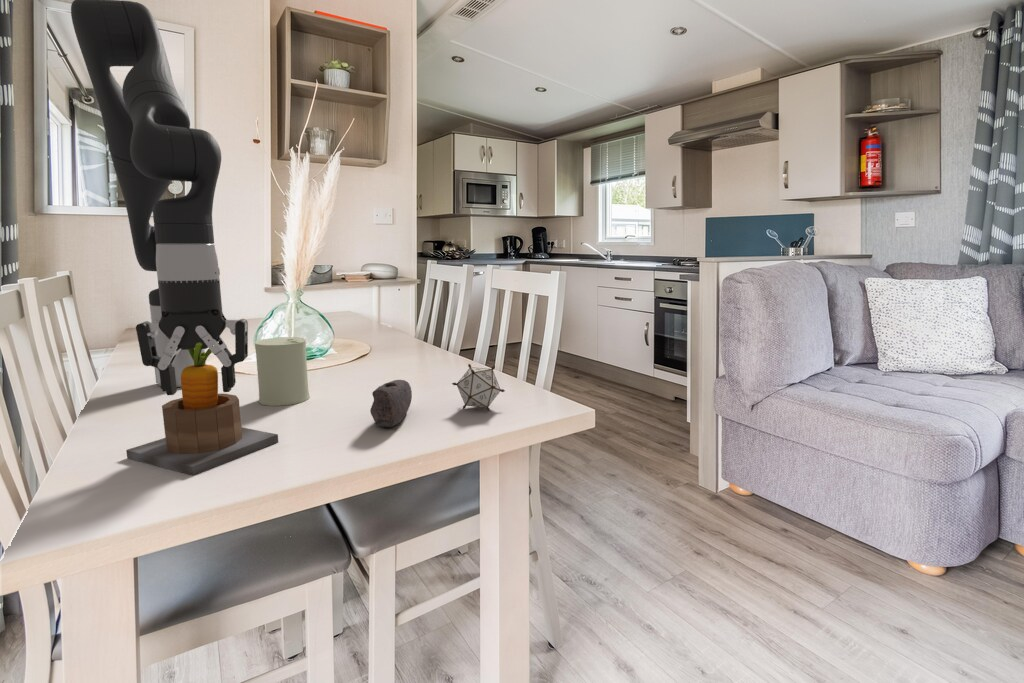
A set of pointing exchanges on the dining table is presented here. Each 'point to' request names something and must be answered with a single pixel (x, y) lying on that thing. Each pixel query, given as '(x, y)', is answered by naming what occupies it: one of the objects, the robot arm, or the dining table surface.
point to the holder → (201, 437)
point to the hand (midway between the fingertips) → (200, 392)
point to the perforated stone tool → (391, 403)
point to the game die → (478, 387)
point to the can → (282, 371)
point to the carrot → (199, 381)
